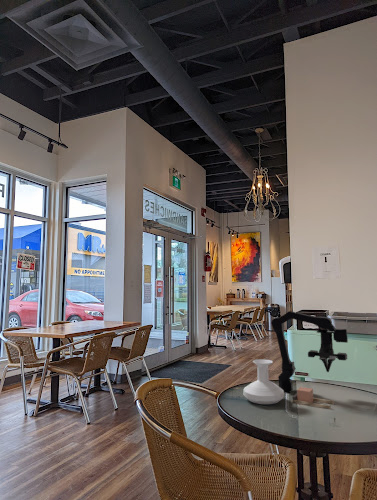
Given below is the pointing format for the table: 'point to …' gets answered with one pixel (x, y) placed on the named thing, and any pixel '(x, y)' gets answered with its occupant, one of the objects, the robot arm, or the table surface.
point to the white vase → (263, 386)
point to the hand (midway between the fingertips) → (327, 371)
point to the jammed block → (305, 394)
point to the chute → (295, 400)
